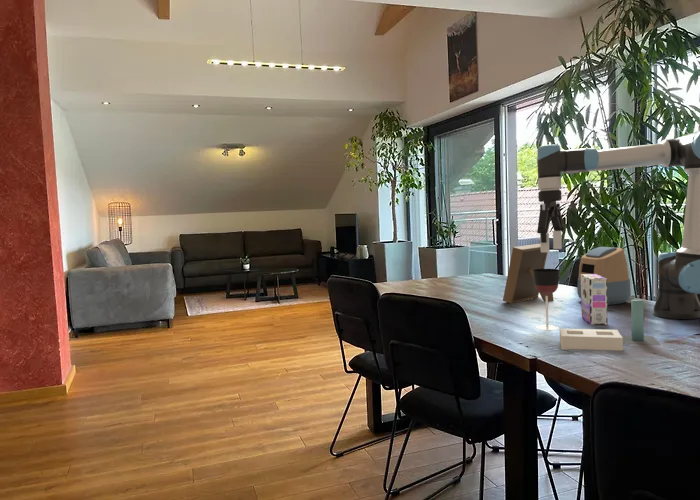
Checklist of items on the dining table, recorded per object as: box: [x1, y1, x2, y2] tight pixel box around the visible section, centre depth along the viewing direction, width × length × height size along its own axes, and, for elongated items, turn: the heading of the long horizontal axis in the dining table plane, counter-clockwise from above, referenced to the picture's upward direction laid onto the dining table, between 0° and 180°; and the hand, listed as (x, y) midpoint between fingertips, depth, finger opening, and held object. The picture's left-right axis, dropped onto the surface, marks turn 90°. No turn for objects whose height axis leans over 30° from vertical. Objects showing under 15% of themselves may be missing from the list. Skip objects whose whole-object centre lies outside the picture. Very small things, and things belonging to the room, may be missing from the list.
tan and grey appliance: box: [576, 246, 632, 306], centre depth 221 cm, size 17×17×23 cm
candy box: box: [580, 274, 609, 326], centre depth 186 cm, size 14×6×16 cm, turn 168°
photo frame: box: [502, 243, 554, 305], centre depth 231 cm, size 15×22×25 cm
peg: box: [630, 299, 645, 341], centre depth 157 cm, size 3×3×12 cm
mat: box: [621, 335, 661, 346], centre depth 157 cm, size 10×10×1 cm
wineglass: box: [533, 268, 560, 331], centre depth 180 cm, size 8×9×20 cm
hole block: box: [559, 328, 624, 351], centre depth 154 cm, size 16×10×4 cm, turn 71°
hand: (551, 250), depth 184 cm, fingers open, 13 cm apart
